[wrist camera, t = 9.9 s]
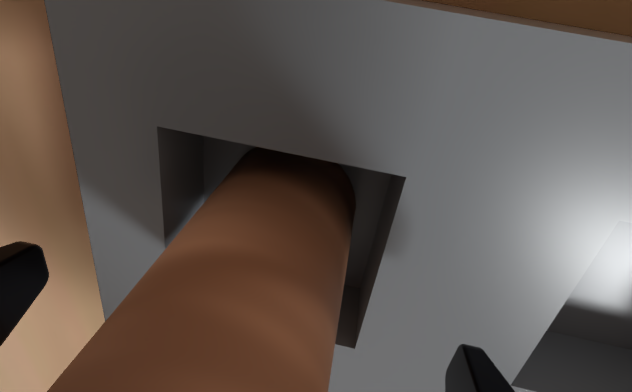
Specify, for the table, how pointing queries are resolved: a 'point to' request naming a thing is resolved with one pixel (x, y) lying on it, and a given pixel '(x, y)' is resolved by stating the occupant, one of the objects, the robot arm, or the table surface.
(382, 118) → the hole board
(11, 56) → the table surface
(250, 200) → the pin
